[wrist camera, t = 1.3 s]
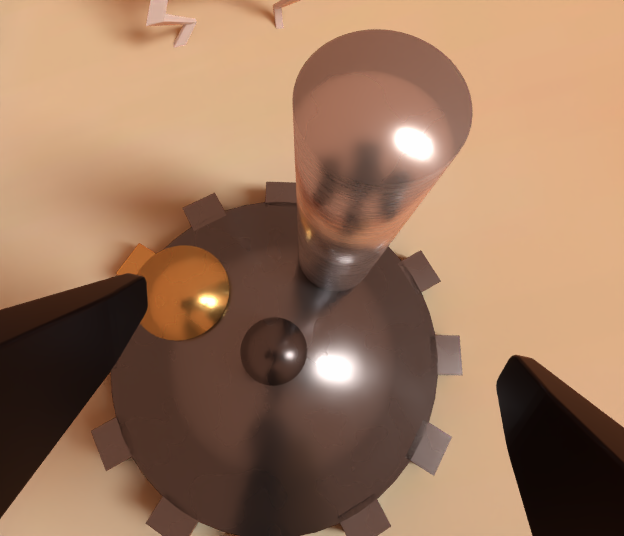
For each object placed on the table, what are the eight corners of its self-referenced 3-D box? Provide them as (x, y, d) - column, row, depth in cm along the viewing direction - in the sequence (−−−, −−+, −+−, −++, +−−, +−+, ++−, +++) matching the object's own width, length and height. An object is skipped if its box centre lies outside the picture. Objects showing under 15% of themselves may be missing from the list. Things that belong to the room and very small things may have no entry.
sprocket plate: (462, 552, 16) (499, 597, 13) (74, 549, 16) (20, 593, 13) (437, 199, 20) (460, 171, 17) (130, 190, 20) (100, 160, 17)
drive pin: (372, 292, 17) (480, 187, 7) (297, 290, 17) (289, 181, 7) (370, 222, 18) (464, 32, 8) (299, 220, 18) (295, 25, 8)
